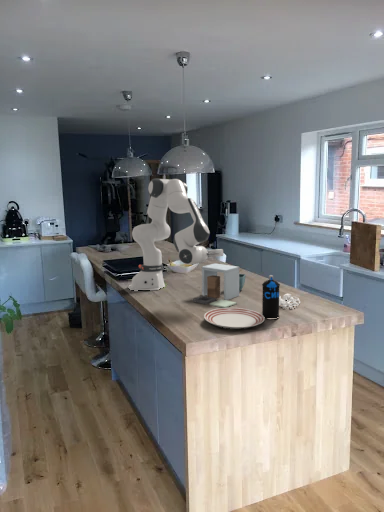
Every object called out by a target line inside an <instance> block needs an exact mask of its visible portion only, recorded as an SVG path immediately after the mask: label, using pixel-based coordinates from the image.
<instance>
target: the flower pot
mask: <svg viewBox="0 0 384 512" xmlns="http://www.w3.org/2000/svg"><path fill="white" fill-rule="evenodd" d="M246 275H247V274H245V273H239V292H241V290H242V289H244V286H245V282H246Z"/></svg>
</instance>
